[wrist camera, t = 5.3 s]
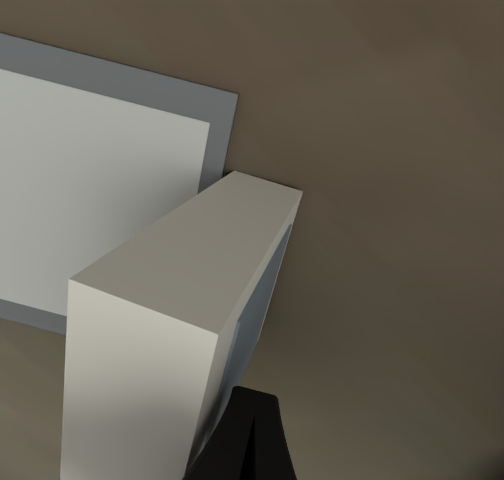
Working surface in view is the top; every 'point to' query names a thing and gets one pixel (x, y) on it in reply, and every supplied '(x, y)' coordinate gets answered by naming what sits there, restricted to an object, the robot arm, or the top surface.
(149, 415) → the card box
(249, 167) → the top surface
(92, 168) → the mat
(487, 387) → the top surface
